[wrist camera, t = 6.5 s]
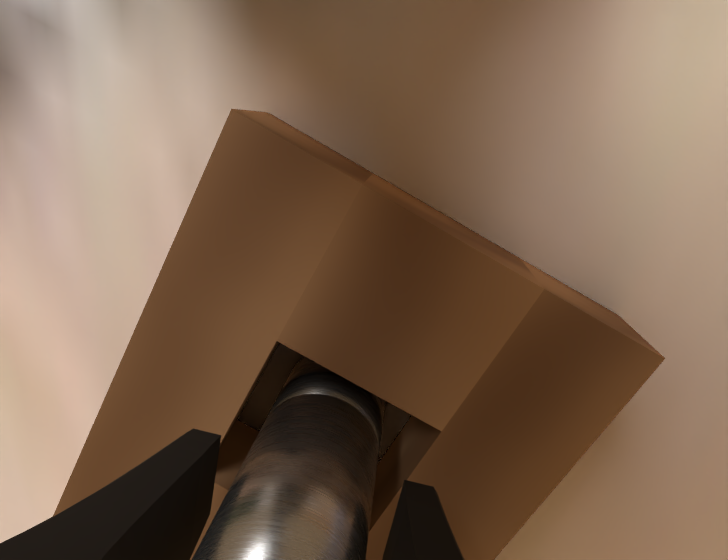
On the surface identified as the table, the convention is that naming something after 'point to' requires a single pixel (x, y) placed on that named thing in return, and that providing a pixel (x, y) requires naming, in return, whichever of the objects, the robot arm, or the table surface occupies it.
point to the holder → (365, 337)
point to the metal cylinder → (304, 476)
